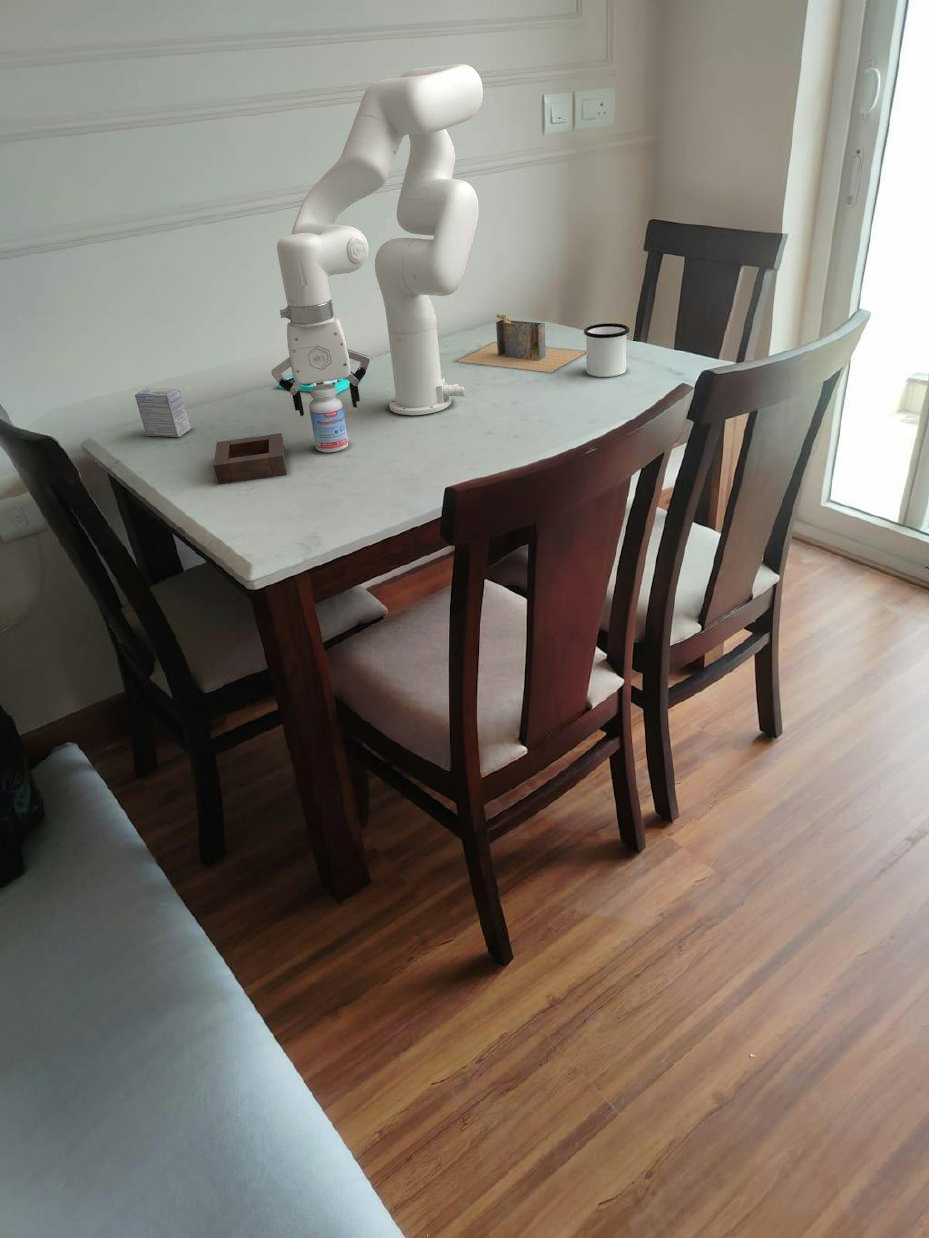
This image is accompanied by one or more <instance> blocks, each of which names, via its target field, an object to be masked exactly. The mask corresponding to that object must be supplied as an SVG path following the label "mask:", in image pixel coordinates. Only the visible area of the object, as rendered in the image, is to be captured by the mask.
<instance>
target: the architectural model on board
mask: <svg viewBox="0 0 929 1238" xmlns="http://www.w3.org/2000/svg"><path fill="white" fill-rule="evenodd" d="M495 317H496V318H498V319H500V320H497V321H496V322H495V331H496V342H494V343H492V344H489V345H487V346H486V347H483V348H481V349H478V350H477V351H475V352H473V353H470V354H469V355H467V356H465V357H463V358H461V359H458V360H457V362H458V363H467V364H474V365H475V364H477V365H483V366H484V365H485V366H493V367H500V368H501V367H502V368H508V369H509V368H510V369H519V370H526V371H527V370H528V371H534V372H535V371H536V372H544V373H553V372H555V371H557V370H558V369H560V368H561V367H563V366H565V365H567V364H569V363H570V362H572V361H574V360H575V359H577V358H579V357H581V356H583V355H584V354H587V351H580V350H569V349H559V348H550V347H546V324H545V322H537V321H525V320H515V319H509V318H507V315H506V314H504V313H501V314H499V313H495Z"/></svg>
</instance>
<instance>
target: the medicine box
mask: <svg viewBox="0 0 929 1238" xmlns="http://www.w3.org/2000/svg"><path fill="white" fill-rule="evenodd" d="M134 398H135V400H136V404H137V405H136V406H137V408H138V411H139V415H140V418H141V422H142V425H143V429H144V432H145V435H146V436H147V437H165V438H166V437H167V438H180V437H183V436H184V435H185V434H187V433H188V432H189V431H191V429H192V427H191V425H190V421H189V417H188V414H187V410H186V407H185V403H184V399H183V396H182V391H181V389H180V388H179V387H177V388H176V387H175V388H173V387H146V388H144V389H142V390H139V392H136V394H134Z"/></svg>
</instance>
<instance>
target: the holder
mask: <svg viewBox="0 0 929 1238" xmlns="http://www.w3.org/2000/svg"><path fill="white" fill-rule="evenodd" d="M214 452H215V453H214V459H213V469H214V470H213V471H214V474H215V478H216V483H217V485H223V484H230V483H236V482H244V481H250V480H258V479H264V478H265V479H266V478H273V477H278V476H279V477H280V476H286V475H287V474H288V473H287V457H286V447H285V441H284V437H283V432H280V433H272V434H271V433H270V434H265V435H257V436H249V437H244V438H235V439H228V440H222V441H216V445H215V451H214Z"/></svg>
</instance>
